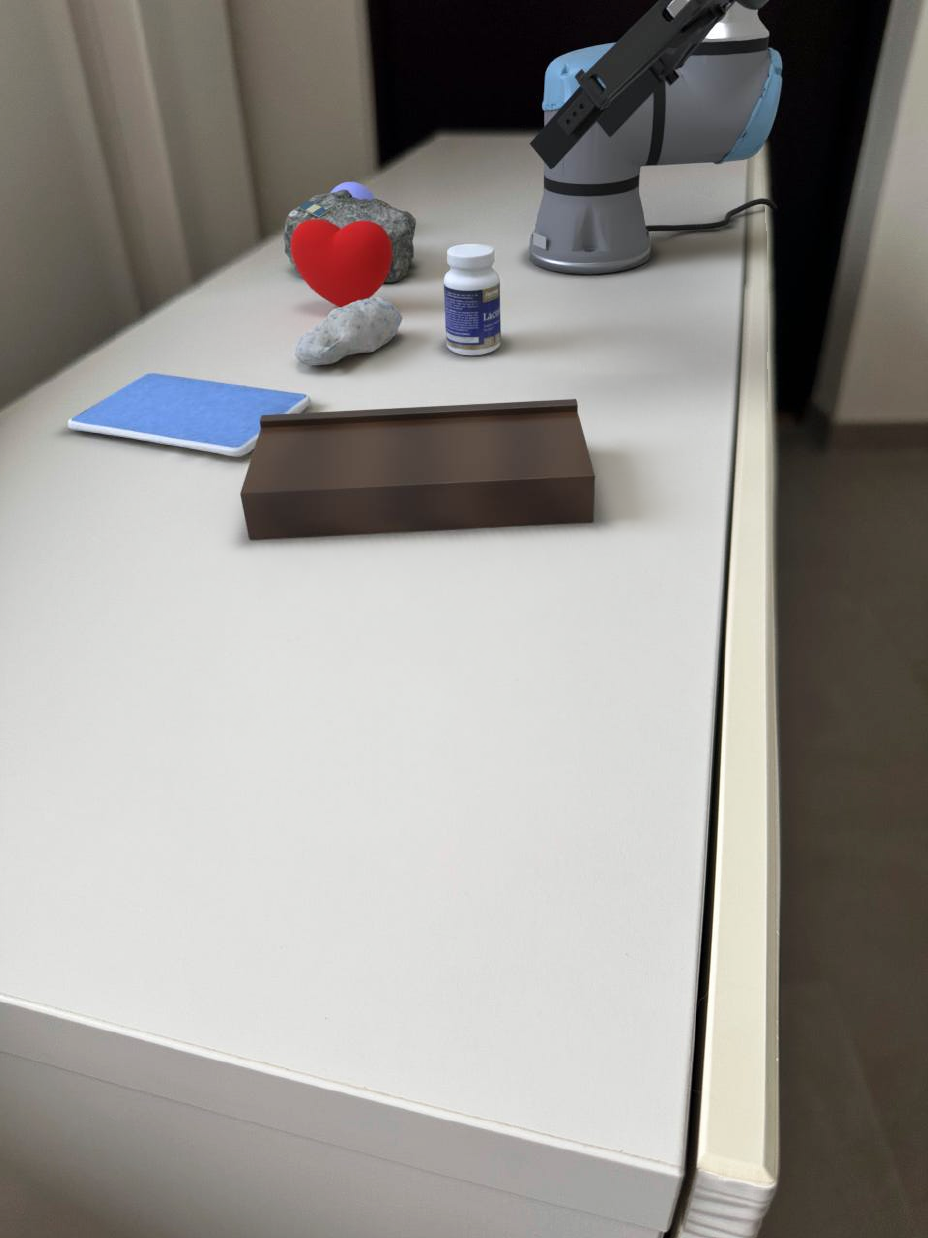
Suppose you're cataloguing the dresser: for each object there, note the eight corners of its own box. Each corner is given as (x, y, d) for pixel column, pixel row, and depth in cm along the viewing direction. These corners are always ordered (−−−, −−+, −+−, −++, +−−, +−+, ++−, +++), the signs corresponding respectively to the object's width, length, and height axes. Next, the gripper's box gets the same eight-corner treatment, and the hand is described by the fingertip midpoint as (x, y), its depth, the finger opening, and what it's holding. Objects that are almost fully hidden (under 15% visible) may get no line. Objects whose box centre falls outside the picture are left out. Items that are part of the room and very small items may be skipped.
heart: (291, 316, 116) (278, 225, 110) (309, 300, 120) (297, 212, 114) (388, 321, 113) (380, 228, 108) (403, 304, 118) (396, 214, 112)
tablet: (65, 433, 93) (61, 419, 93) (150, 380, 103) (147, 368, 102) (241, 465, 87) (239, 451, 86) (316, 405, 96) (314, 392, 95)
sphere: (383, 227, 144) (378, 175, 140) (374, 242, 139) (369, 188, 135) (334, 228, 145) (328, 176, 141) (324, 243, 139) (318, 189, 135)
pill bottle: (496, 358, 103) (493, 258, 98) (441, 356, 104) (435, 257, 99) (505, 337, 108) (503, 241, 102) (453, 335, 109) (448, 240, 103)
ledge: (575, 449, 86) (576, 398, 84) (593, 522, 76) (595, 467, 74) (269, 464, 86) (261, 414, 84) (249, 540, 77) (238, 486, 74)
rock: (443, 243, 131) (426, 170, 124) (404, 311, 124) (383, 238, 116) (324, 240, 138) (300, 171, 130) (279, 305, 130) (251, 235, 122)
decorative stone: (363, 326, 112) (358, 280, 109) (413, 336, 109) (410, 289, 106) (286, 369, 103) (278, 320, 100) (338, 381, 100) (332, 330, 97)
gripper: (753, -15, 67) (543, 207, 81) (831, -42, 84) (647, 144, 99) (681, -110, 66) (481, 132, 80) (775, -118, 83) (598, 82, 98)
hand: (572, 139), depth 90 cm, fingers open, 13 cm apart
